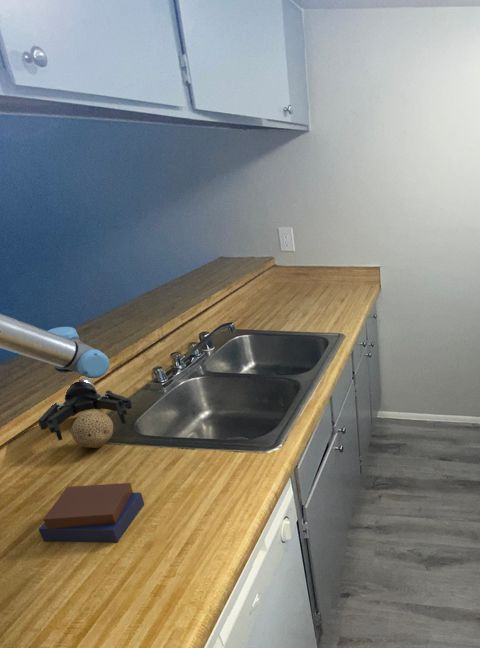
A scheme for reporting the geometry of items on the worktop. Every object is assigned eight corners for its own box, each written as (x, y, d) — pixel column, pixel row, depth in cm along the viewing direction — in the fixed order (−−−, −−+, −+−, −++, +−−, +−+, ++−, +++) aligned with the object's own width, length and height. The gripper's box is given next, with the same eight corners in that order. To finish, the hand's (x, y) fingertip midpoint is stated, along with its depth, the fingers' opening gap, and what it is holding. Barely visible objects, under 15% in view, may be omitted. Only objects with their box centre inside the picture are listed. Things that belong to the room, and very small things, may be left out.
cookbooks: (43, 541, 90) (33, 519, 88) (78, 502, 100) (70, 481, 98) (117, 542, 91) (109, 520, 88) (144, 504, 101) (138, 482, 98)
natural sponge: (119, 452, 117) (109, 417, 112) (77, 462, 113) (64, 426, 108) (117, 434, 124) (107, 401, 119) (77, 443, 119) (65, 409, 115)
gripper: (133, 393, 139) (150, 425, 124) (29, 418, 125) (34, 456, 111) (127, 370, 136) (144, 400, 121) (19, 393, 122) (23, 429, 107)
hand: (91, 426), depth 116 cm, fingers open, 13 cm apart
